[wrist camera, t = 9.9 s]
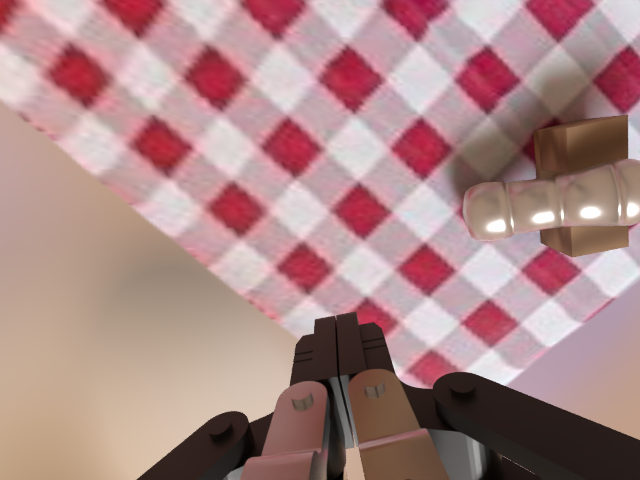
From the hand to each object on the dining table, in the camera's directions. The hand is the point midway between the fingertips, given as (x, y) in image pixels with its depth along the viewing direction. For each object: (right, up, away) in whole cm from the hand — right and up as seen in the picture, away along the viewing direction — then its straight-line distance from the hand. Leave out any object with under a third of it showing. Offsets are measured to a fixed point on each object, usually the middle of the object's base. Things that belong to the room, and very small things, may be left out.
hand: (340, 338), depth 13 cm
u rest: (+29, +10, +31) cm, 43 cm away
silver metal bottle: (+16, +6, +29) cm, 34 cm away
